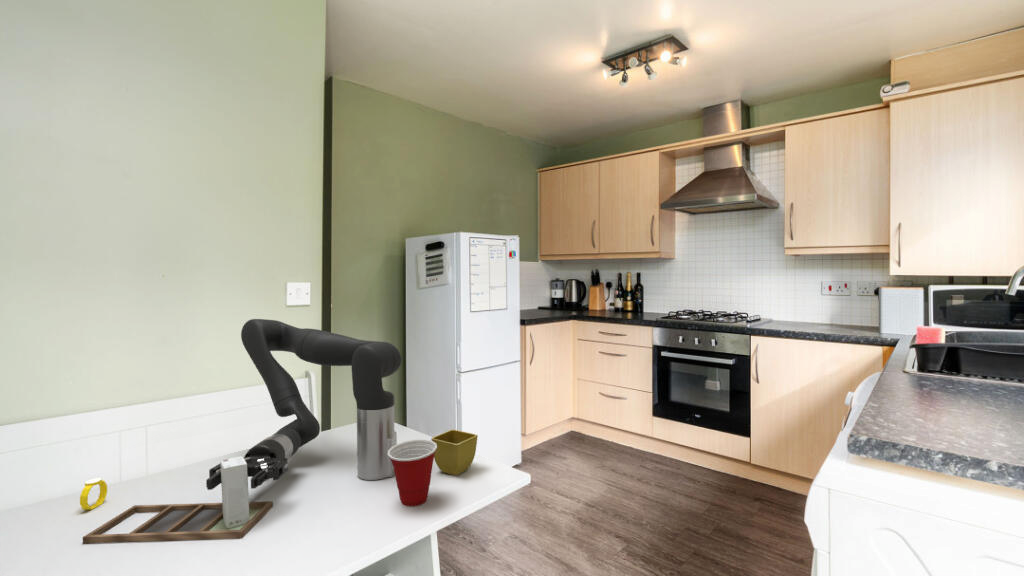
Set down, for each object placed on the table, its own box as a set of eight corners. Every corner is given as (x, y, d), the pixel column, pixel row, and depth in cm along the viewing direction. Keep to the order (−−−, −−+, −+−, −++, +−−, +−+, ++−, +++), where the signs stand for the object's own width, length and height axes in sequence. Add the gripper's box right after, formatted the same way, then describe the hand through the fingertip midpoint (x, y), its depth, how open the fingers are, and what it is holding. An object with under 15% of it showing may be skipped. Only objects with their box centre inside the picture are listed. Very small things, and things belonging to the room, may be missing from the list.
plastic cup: (378, 501, 103) (377, 447, 103) (418, 486, 111) (418, 435, 111) (406, 518, 95) (405, 460, 95) (447, 499, 103) (447, 446, 103)
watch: (91, 514, 99) (88, 487, 99) (76, 515, 99) (74, 488, 99) (111, 499, 105) (109, 474, 105) (98, 500, 105) (96, 474, 105)
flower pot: (479, 468, 121) (478, 434, 121) (457, 481, 113) (457, 444, 113) (452, 462, 125) (452, 429, 125) (430, 473, 118) (430, 438, 118)
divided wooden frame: (272, 506, 101) (272, 501, 101) (241, 538, 88) (241, 531, 88) (134, 511, 100) (134, 505, 100) (82, 543, 87) (82, 537, 87)
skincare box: (250, 523, 94) (249, 463, 94) (224, 530, 91) (223, 468, 91) (245, 511, 98) (244, 454, 98) (220, 518, 96) (219, 459, 96)
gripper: (238, 439, 108) (193, 466, 92) (300, 438, 109) (267, 464, 93) (239, 471, 108) (194, 504, 92) (300, 469, 109) (267, 502, 93)
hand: (230, 484), depth 93 cm, fingers open, 8 cm apart
